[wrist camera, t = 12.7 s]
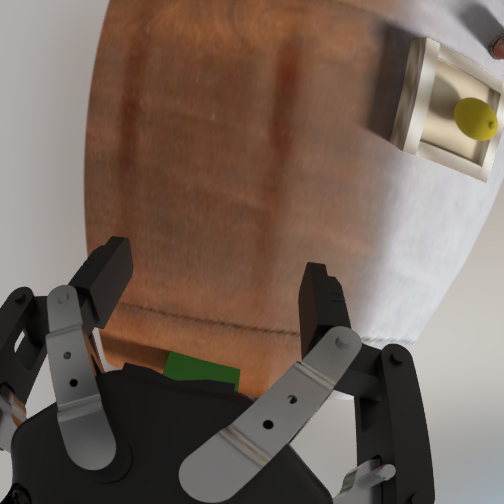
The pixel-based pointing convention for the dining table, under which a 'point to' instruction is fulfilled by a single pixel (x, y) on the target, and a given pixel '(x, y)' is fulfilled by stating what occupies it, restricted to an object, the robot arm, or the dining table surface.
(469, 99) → the lemon
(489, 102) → the birch base
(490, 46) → the lighter
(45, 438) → the robot arm
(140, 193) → the dining table surface
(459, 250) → the dining table surface
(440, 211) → the dining table surface
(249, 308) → the dining table surface
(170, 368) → the green striped box
